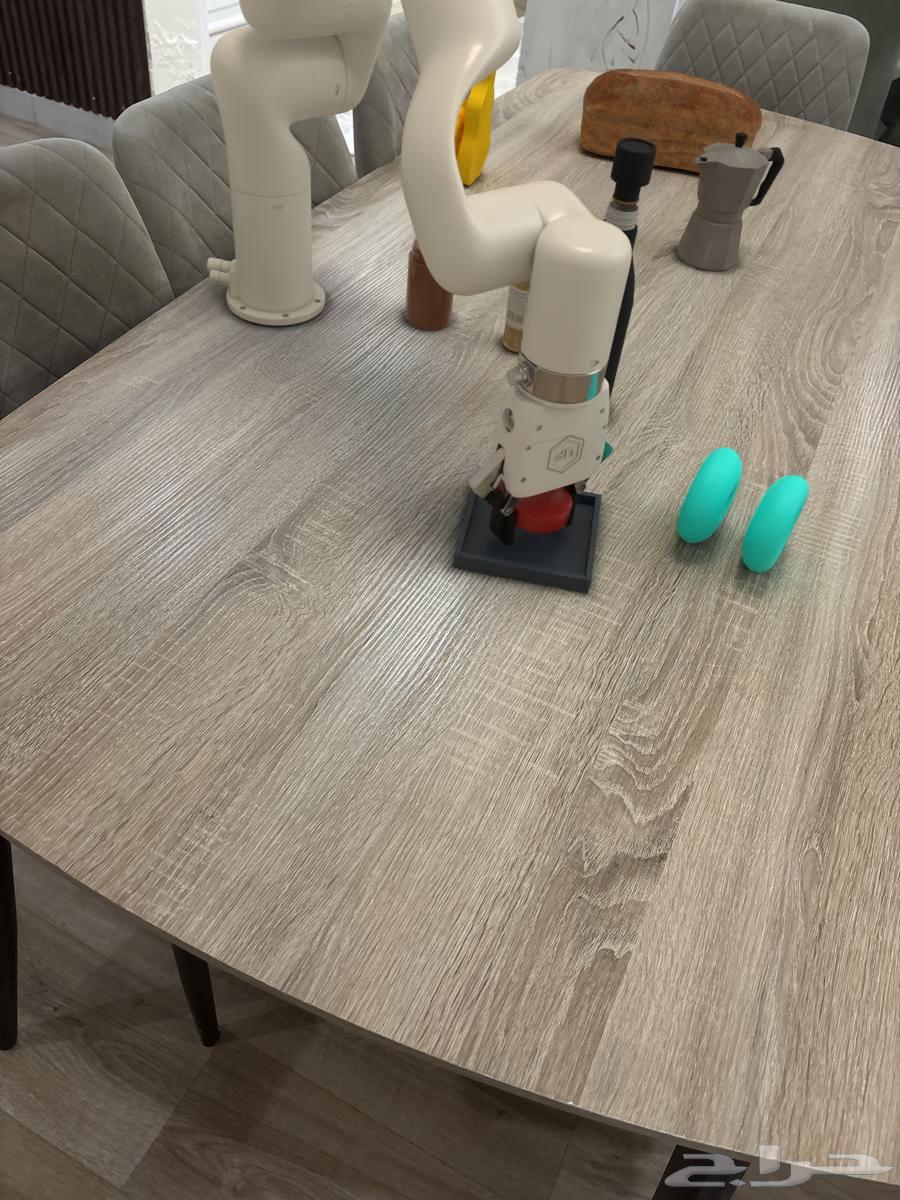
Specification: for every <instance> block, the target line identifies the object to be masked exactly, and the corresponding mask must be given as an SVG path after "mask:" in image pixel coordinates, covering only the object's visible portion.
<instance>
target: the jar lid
mask: <svg viewBox="0 0 900 1200" xmlns="http://www.w3.org/2000/svg"><path fill="white" fill-rule="evenodd" d="M508 494H509V492H508V491H506V496H505V497H507V495H508ZM571 507H572V497H571V495H570V493H569V492H568V490H567V489H566V488H565V487H560V488H557V489H554V490H550V491H547V492H544V493H540V494H537V495H533V496H530V497H525V498H520V500H519V502H518V503H517V505H516V507H515V509H514V510H513V511H514V512H515V513H517V522H516V526H517V527H519V528H521V529H524V530H526V531H530V532H534V533H551V532H555V531H557V530H559V529H561V528H563V527H564V526H565V525H566V524H567V521H568V518H569V514H570V511H571Z"/></svg>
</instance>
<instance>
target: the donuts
mask: <svg viewBox="0 0 900 1200" xmlns="http://www.w3.org/2000/svg"><path fill="white" fill-rule="evenodd" d="M742 475H743V462H742V460H741V457H740V455H739V454H738V453H737V452H736V450H735V449H732V448H731V447H727V446H723V447H718V448H716V449H714V450H712V451H711V452H710V453H709V454H708V455H707V457H706V458H705V460H704V461H703V462H702V463H701V465H700V467H699V469H698V471H697V472H696V473H695V476H694V477H693V479H692V481H691V484H690V486H689V488H688V490H687V492H686V494H685V497H684V499H683V502H682V504H681V507H680V510H679V513H678V517H677V520H676V521H677V522H676V531H677V533H678V536H679V537H680V538H681V539H682V540H683V541H685V542H687V543H691V544H697V543H701V542H703V541H705V540H707V539H708V538H710V537H711V536H712V535H713V534H714V533H715V532H716V531H717V530H718V528H719V527H720V526H721V524H722V522H723V521H724V519H725V517H726V516H727V513H728V512H729V510H730V508H731V505H732V503H733V501H734V499H735V497H736V494H737V492H738V490H739V487H740V484H741V480H742ZM809 494H810V487H809V483H808V482H807V480H806V479H804V478H803V476H800V475H797V474H789V475H784V476H782V477H780V478H779V479H777V480H775V481H774V483H772V484H771V485H770V486H769V488H768V489H767V490H766V491H765V493H764V495H763V496H762V498H761V500H760V502H759V503H758V505H757V507H756V509H755V511H754V512H753V515H752V517H751V519H750V521H749V523H748V526H747V528H746V531H745V533H744V536H743V538H742V539H743V540H742V544H741V557H742V560H743V563H744V565H745V567H746V568H748V569H749V570H750V571H752V572H755V573H764V572H767V571H769V570H770V569H772V568H773V567H774V565H775V563H776V562H777V561H778V559H779V557H780V555H781V553H782V551H783V550H784V548H785V546H786V544H787V542H788V540H789V538H790V537H791V535H792V532H793V530H794V529H795V526H796V525H797V522H798V520H799V518H800V516H801V513H802V511H803V510H804V507H805V505H806V502H807V500H808V498H809V496H810V495H809Z"/></svg>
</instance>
